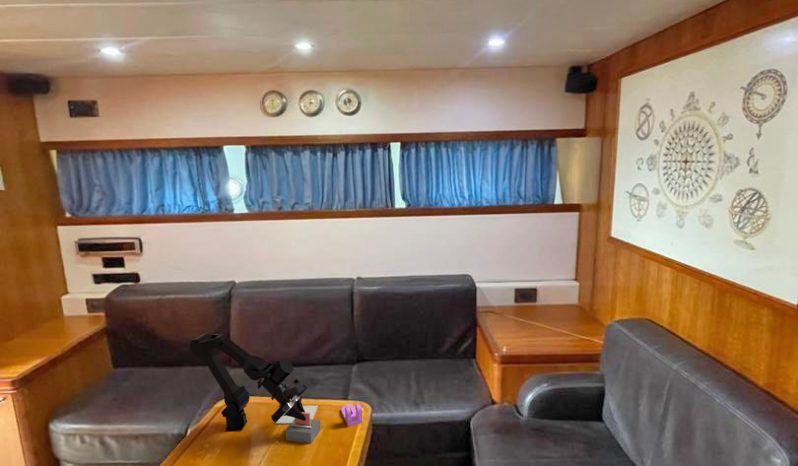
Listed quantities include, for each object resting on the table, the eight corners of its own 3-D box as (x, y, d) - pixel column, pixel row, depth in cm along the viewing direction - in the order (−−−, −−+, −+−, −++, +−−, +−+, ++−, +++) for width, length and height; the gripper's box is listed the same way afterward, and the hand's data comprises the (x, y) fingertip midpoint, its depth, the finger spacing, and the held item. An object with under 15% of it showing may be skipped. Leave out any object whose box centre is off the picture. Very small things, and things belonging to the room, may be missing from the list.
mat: (275, 424, 174) (275, 422, 173) (284, 407, 185) (284, 406, 185) (310, 423, 173) (310, 422, 173) (317, 406, 185) (317, 405, 185)
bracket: (362, 423, 172) (361, 406, 171) (348, 427, 170) (347, 410, 169) (353, 406, 184) (352, 391, 183) (339, 410, 182) (338, 394, 181)
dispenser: (286, 439, 163) (285, 428, 163) (296, 427, 171) (295, 415, 170) (311, 443, 161) (310, 431, 160) (320, 430, 169) (319, 418, 168)
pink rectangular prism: (296, 434, 166) (294, 412, 165) (297, 433, 167) (295, 411, 166) (310, 436, 165) (309, 414, 163) (311, 435, 166) (309, 412, 164)
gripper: (276, 388, 154) (307, 420, 153) (300, 364, 172) (329, 393, 171) (258, 407, 158) (288, 439, 157) (284, 381, 175) (311, 410, 174)
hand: (305, 419), depth 165 cm, fingers closed on pink rectangular prism, 1 cm apart
